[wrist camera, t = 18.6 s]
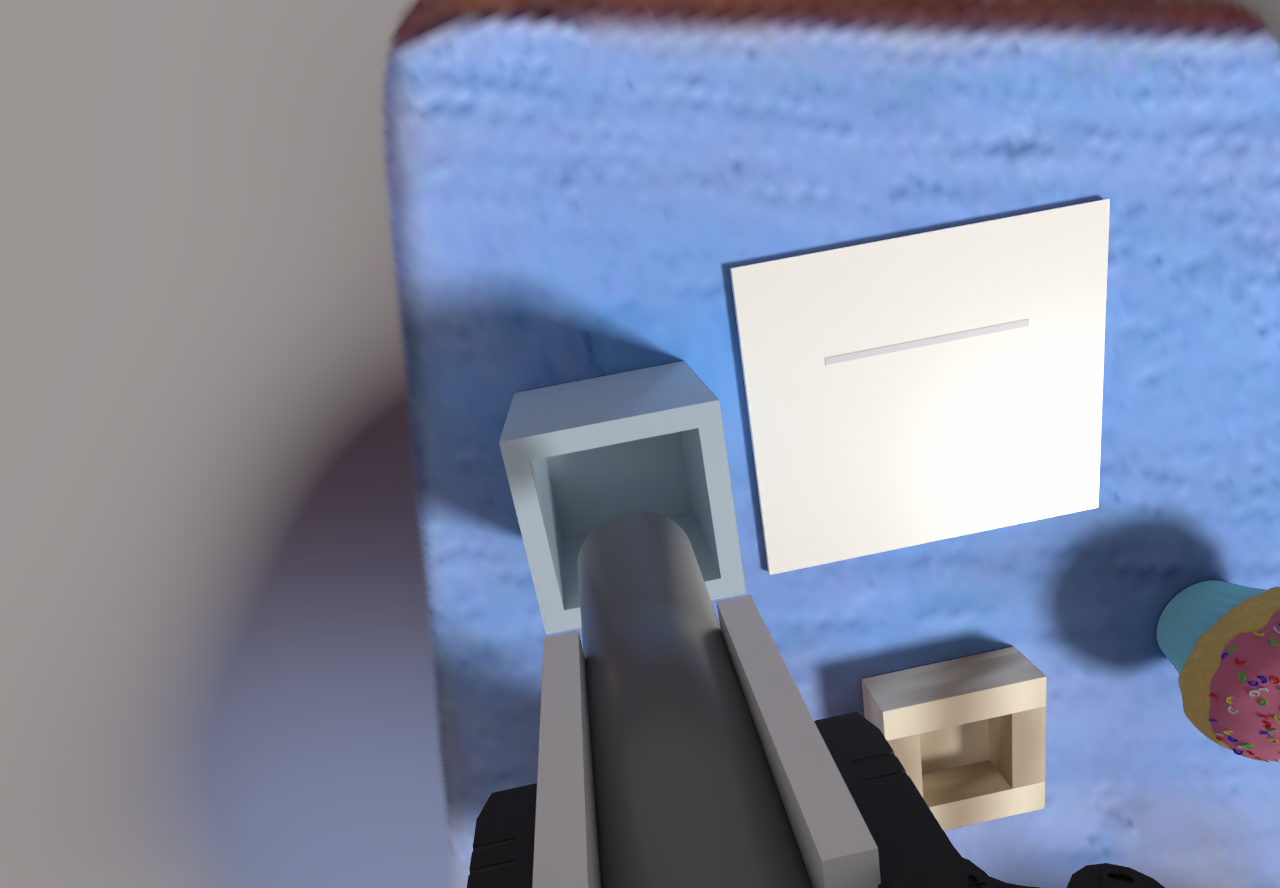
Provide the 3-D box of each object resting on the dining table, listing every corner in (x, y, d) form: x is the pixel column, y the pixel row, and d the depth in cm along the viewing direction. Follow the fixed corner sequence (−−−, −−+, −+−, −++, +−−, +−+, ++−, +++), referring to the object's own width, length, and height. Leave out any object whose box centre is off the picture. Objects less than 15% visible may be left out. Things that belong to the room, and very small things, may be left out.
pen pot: (684, 360, 29) (719, 400, 23) (708, 516, 31) (746, 593, 25) (514, 393, 29) (498, 442, 22) (550, 547, 31) (546, 634, 24)
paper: (1104, 198, 29) (1110, 198, 29) (1093, 505, 33) (1098, 508, 33) (729, 268, 28) (731, 268, 28) (768, 571, 33) (770, 575, 32)
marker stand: (1014, 646, 35) (1046, 676, 33) (1014, 771, 38) (1044, 807, 35) (861, 678, 35) (882, 711, 33) (871, 803, 37) (892, 842, 35)
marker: (646, 470, 19) (842, 1113, 6) (708, 551, 21) (975, 1220, 8) (550, 535, 20) (556, 1256, 7) (617, 609, 21) (726, 1335, 8)
